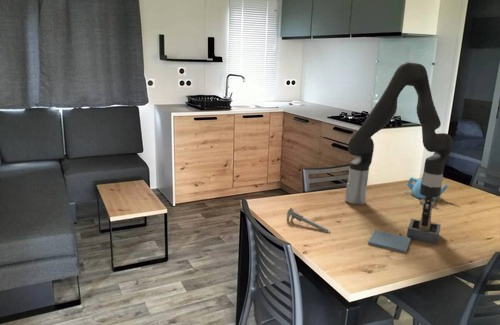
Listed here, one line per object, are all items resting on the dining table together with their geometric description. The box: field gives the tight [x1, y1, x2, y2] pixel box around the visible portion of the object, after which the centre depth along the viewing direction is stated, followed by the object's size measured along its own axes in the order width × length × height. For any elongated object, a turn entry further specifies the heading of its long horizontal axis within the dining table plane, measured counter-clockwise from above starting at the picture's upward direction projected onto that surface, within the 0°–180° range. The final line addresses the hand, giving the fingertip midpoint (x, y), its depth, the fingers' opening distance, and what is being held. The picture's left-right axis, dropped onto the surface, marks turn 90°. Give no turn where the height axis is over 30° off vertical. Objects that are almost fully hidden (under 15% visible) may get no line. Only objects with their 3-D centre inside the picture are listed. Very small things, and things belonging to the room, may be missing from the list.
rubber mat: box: [367, 229, 412, 254], centre depth 160 cm, size 14×13×1 cm
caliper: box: [286, 207, 331, 234], centre depth 171 cm, size 20×1×6 cm, turn 55°
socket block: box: [406, 218, 442, 246], centre depth 166 cm, size 11×11×4 cm
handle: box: [419, 199, 438, 231], centre depth 164 cm, size 5×6×15 cm
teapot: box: [406, 176, 449, 201], centre depth 214 cm, size 15×15×11 cm
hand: (425, 223), depth 165 cm, fingers open, 5 cm apart
